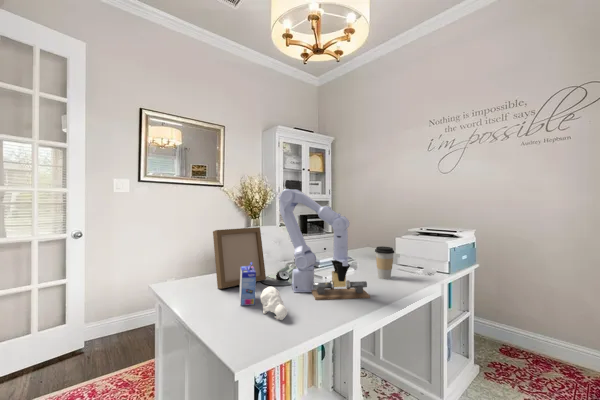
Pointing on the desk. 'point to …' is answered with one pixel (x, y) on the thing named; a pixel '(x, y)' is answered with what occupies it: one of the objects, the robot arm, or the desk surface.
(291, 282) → the metal bracket
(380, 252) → the coffee cup
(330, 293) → the stand
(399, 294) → the desk surface
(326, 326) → the desk surface
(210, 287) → the desk surface
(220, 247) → the photo frame
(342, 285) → the block
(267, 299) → the white sculpted piece
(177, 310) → the desk surface
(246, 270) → the ink cartridge box
